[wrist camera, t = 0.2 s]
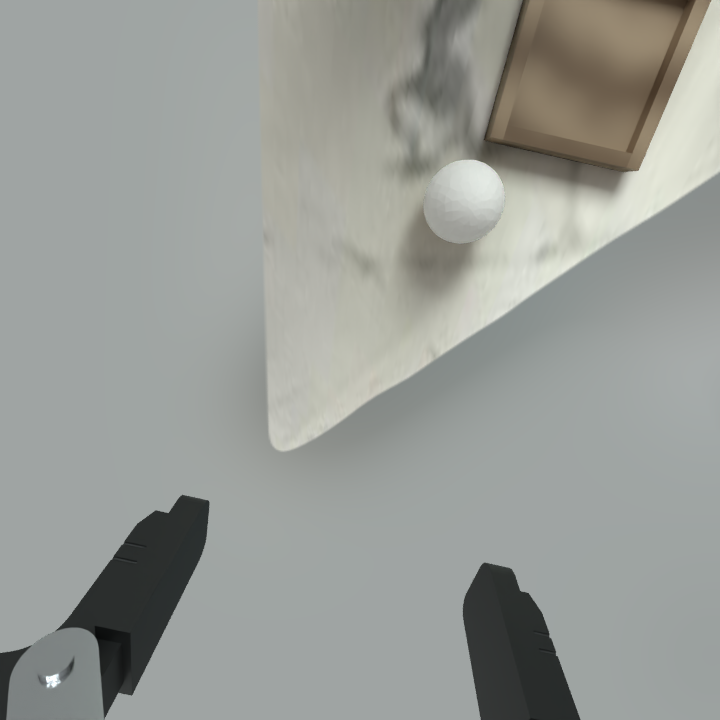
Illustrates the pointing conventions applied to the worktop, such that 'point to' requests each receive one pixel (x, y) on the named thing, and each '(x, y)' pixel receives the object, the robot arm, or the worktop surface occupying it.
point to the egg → (464, 201)
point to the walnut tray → (592, 77)
